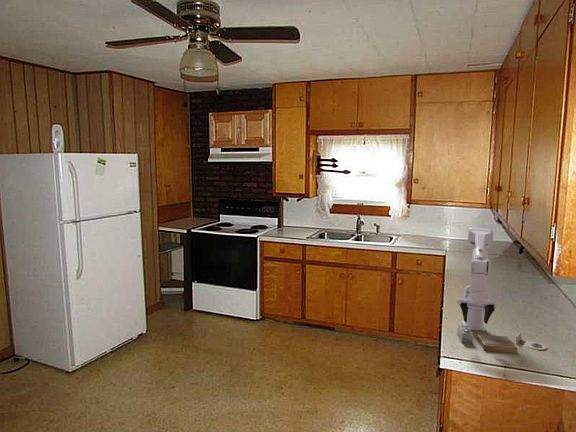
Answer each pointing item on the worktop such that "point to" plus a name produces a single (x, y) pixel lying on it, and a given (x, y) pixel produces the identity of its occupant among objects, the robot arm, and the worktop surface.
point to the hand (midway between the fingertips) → (475, 322)
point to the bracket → (531, 344)
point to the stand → (496, 343)
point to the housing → (465, 334)
